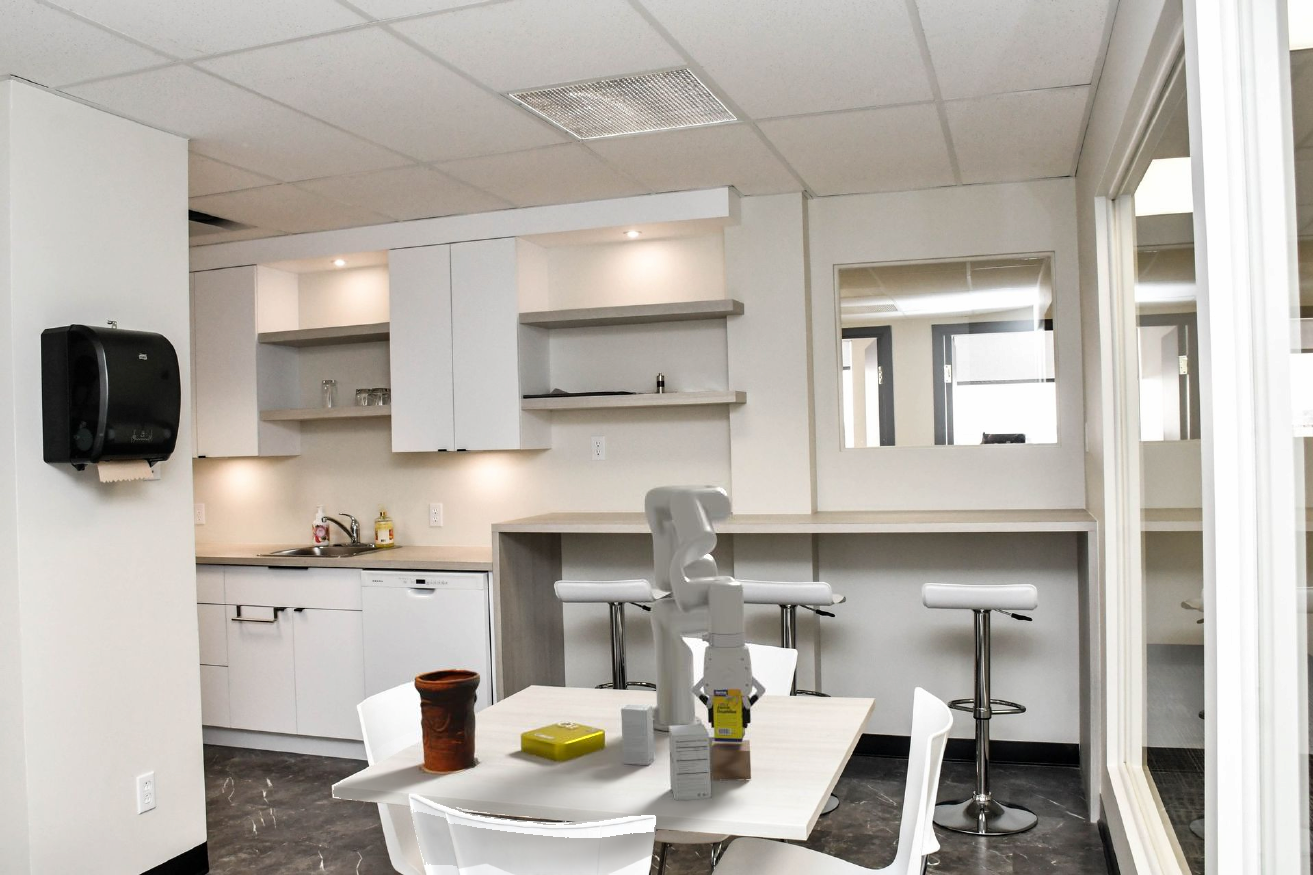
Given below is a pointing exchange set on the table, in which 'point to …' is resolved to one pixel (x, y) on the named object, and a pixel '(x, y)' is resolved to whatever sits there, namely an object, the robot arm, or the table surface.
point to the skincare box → (637, 734)
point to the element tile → (562, 741)
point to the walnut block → (730, 760)
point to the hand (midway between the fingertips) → (729, 725)
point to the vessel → (448, 719)
